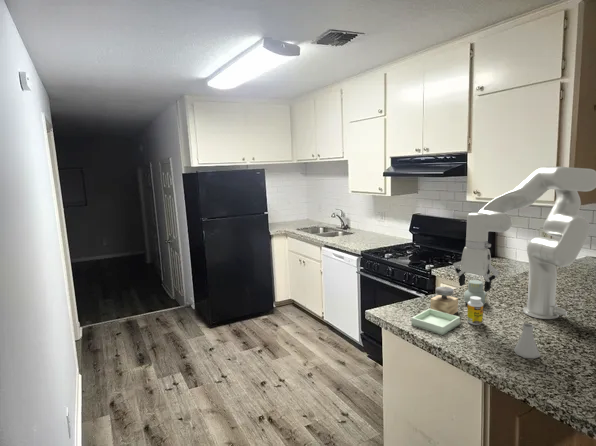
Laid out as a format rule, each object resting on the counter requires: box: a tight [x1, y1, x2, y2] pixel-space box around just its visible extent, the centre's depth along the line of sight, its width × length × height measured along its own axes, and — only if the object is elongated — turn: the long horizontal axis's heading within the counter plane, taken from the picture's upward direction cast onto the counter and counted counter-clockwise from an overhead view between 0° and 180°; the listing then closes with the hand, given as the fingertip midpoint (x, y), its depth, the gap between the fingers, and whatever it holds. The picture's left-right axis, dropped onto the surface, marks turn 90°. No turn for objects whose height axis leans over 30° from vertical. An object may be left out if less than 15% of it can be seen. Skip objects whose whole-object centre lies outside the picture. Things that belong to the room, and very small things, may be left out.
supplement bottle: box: [466, 296, 484, 326], centre depth 152 cm, size 6×6×10 cm
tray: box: [411, 308, 461, 336], centre depth 152 cm, size 13×13×3 cm
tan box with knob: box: [430, 286, 459, 315], centre depth 164 cm, size 8×8×10 cm
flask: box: [513, 323, 541, 360], centre depth 127 cm, size 7×7×10 cm
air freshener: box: [463, 279, 487, 306], centre depth 172 cm, size 11×8×10 cm
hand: (474, 288), depth 151 cm, fingers open, 9 cm apart
